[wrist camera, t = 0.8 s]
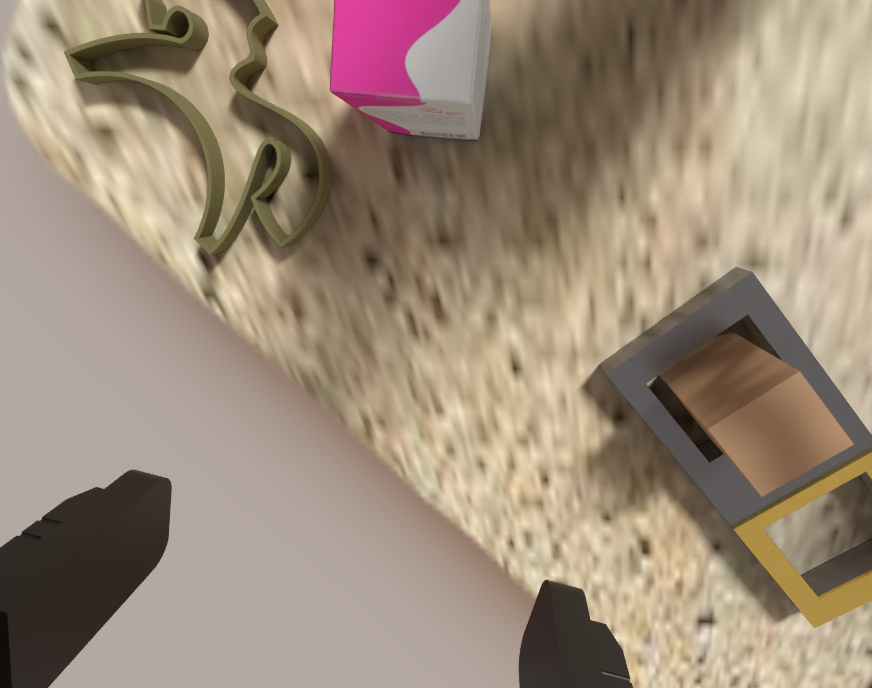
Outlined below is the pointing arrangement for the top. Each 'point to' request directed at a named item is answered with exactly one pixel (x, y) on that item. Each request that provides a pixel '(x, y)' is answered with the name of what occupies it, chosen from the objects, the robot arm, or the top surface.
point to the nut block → (756, 410)
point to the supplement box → (413, 63)
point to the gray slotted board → (715, 474)
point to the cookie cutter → (253, 195)
